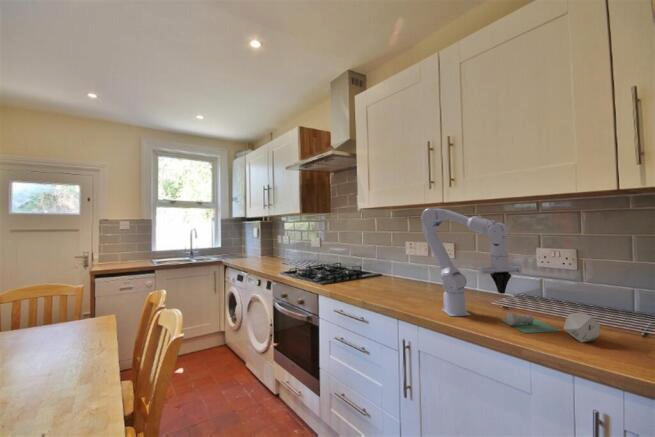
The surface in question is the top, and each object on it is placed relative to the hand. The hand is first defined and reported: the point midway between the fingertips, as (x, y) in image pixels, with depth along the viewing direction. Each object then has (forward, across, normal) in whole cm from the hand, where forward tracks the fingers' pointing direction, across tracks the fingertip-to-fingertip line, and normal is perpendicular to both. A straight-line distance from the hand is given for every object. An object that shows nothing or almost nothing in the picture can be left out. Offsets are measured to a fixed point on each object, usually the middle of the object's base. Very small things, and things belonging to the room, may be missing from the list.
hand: (501, 292), depth 111 cm
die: (+11, +13, -19) cm, 25 cm away
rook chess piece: (+8, -1, -5) cm, 9 cm away
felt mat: (+10, +6, -5) cm, 13 cm away
